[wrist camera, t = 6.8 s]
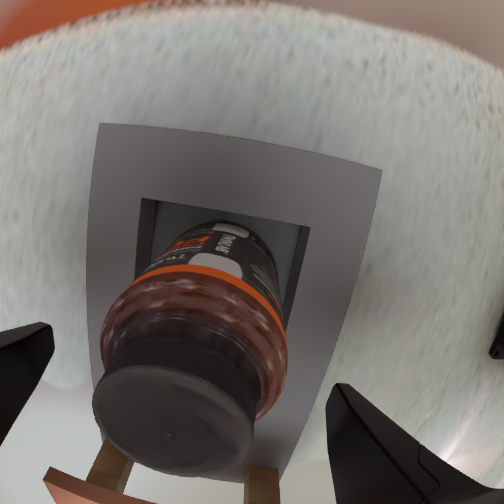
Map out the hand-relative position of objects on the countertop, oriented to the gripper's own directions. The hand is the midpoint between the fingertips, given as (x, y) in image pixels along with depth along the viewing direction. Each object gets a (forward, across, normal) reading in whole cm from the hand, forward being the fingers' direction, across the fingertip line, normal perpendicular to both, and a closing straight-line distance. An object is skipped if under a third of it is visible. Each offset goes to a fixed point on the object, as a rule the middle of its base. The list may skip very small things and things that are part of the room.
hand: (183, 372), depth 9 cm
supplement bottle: (+9, 0, 0) cm, 9 cm away
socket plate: (+9, 0, +4) cm, 10 cm away
